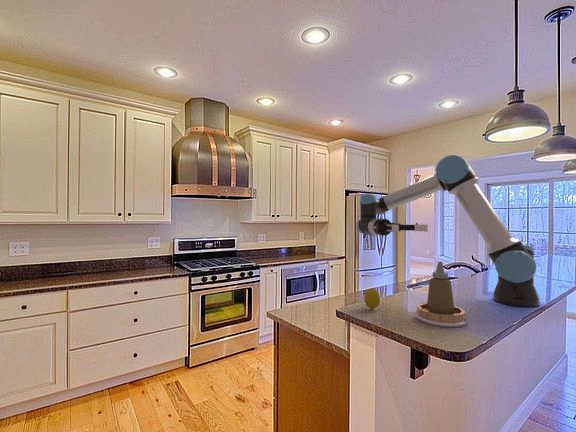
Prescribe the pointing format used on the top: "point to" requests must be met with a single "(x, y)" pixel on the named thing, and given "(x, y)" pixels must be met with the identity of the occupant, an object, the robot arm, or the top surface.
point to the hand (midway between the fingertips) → (412, 228)
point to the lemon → (372, 298)
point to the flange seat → (441, 317)
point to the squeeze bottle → (440, 292)
